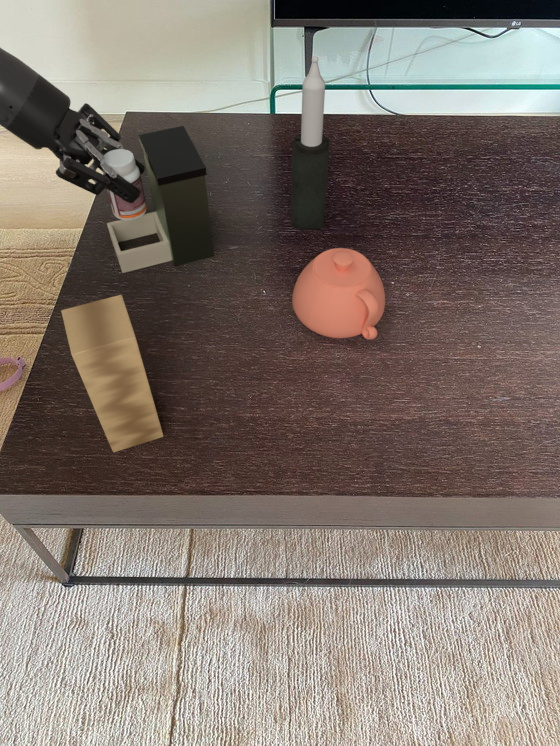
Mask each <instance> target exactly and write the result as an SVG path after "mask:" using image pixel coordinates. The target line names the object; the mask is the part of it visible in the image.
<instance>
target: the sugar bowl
mask: <svg viewBox="0 0 560 746" xmlns="http://www.w3.org/2000/svg"><path fill="white" fill-rule="evenodd" d="M291 300H292V301H291V302H292V303H291V304H292V309H293V311H294V313H295V315H296V317H297V318H298V320H299V321H300V322H301V324H303V325H304V326H305V327H306V328H307V329H309V330H310V331H312V332H313V333H316V334H318V335H320V336H323V337H327V338H331V339H349V338H353V337H357V336H359V335H362V337H364V339H366V340H374V339H376V338H377V336H378V330H377V328H376V327H375V326H376V325H377V324H378V322H379V321H380V320H381V319H382V317H383V316H384V312H385V308H386V307H385V306H386V293H385V287H384V283H383V281H382V279H381V276H380V275H379V273H378V271H377V270H376V268H375V267H374V265H373V264H372V263H371V262H370V260H369V259H368V258H367V257H366V256H365V255H364V254H362V253H361V252H359V251H357V250H354V249H351V248H347V247H346V248H344V247H335V248H331V249H327V250H325V251H323V252H321V253H319V254H318V255H317V256H315V257H314V258H313V259H311V261H310V262H308V264H307V265H306V266H305V267H304V268H303V270H301V272H300V274H299V275H298V277H297V279H296V282H295V284H294V287H293V291H292V299H291Z"/></svg>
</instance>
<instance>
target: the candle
mask: <svg viewBox="0 0 560 746" xmlns="http://www.w3.org/2000/svg"><path fill="white" fill-rule="evenodd" d="M318 62H319V57H318V56H317V55H313V56H312V57H311V64H310V67H309V70H308V74H307V76H306V77H304V80H303V81H302V89H301V91H302V93H301V119H300V120H301V121H300V133H299V134H297V135H296V136H295V137H294V138H293V142H292V149H291V187H290V188H291V191H290V193H291V194H290V197H291V198H290V225H291V227H293V228H296V229H305V230H320V229H322V228H323V227H324V224H325V213H326V199H327V188H328V187H327V186H328V174H329V173H328V172H329V158H330V146H331V145H330V144H331V141H330V138H329V137H328V136H326V135H325V134H323V131H324V130H323V129H324V112H325V97H326V96H325V95H326V82H325V80H324V78H323V77H322V76H323V75H321V70H320V67H319V64H318Z"/></svg>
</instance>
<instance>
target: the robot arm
mask: <svg viewBox="0 0 560 746" xmlns="http://www.w3.org/2000/svg"><path fill="white" fill-rule="evenodd" d="M71 103H72V101H71V98H70V97H69V95H68V94H66V93H65V92H63V91H62V90H61V89H60V88H58V87H57V86H55V85H54V84H52V83H51V82H50V81H48V80H47V79H46V78H45V77H44V76H42V75H41V74H40V73H38V72H37V71H36V70H34V69H33V68H32V67H30V66H29V65H28V64H26V63H25V62H23V61H22V60H21V59H19V58H18V57H16V56H15V55H13V54H11V53H10V52H8V51H6V50H5V49H3V48H2V47H0V126H1V127H3V128H4V129H5V130H7V131H9V133H11V134H12V135H14V136H16V137H17V138H19V139H20V140H22V142H24V143H26V144H27V145H29V146H30V147H32V148H33V149H34V150H42V149H43V148H47V149H48V150H49V151H50V152H52V153H53V155H54V156H55V157H56V158H57V159H58V160H59V167H58V168H57V169H56V170H55V174H56V176H57V178H60V179H62V180H64V181H66V182H67V183H70V184H72V185H74V186H76V187H78V188H80V189H83V190H85V191H87V192H89V193H91V194H93V195H95V196H99V195H101V193H102V192H104V191H105V190H107V189H108V190H110V191H111V192H113V193H114V194H115V195H117V196H118V197H120V198H122V199H123V200H124V201H126V202H128V203H133V202H134V201H135V200H136V199H137V198H138V197H139V196H140V190H139V189H138V188H136V187H135V186H133V185H132V184H131V183H129V182H128V181H126V180H125V179H124V178H122V177H121V176H119V175H118V174H117V175H116V174H115V172H114V171H113V170H112V169H111V168H110V167H109V166H108V165H107V164H106V163H105V158H104V155H105V154H106V153H107V152H109V151H112V150H115V149H124V145H123V144H122V143H121V142H120V140H121V139H122V136H121V134H120V133H119V132H118V131H117V130H116V129H115V128H114V127H113V126H111V124H110V123H108V121H107V120H106V119H105V118H104V117H102V116H101V115H100V113H98V112H97V111H96V110H95V108H93V107H92V106H91V105H90V104H88V103H86V102H85V103H84V104H83V105H82V106H81V107H80V108H79V109H78V110H77V111H76V110H74V109H71V108H70V107H71ZM134 159H135V163H136V164H135V165H136V166H137V167H138V168H139V170H140V175H141V176H142V175H143V174H144V173H145V170H146V166H145V165H144V164H142V163H141V162H140V160H138V159H136V158H135V157H134ZM91 162H92V163H91ZM90 163H91V164H90ZM89 164H90V165H89ZM88 165H89V166H88ZM98 169H99V170H100V171H101V172H102V173H100V172H99V171H97V170H98ZM103 174H105V175H103ZM90 180H91V181H93V182H94V183H93V182H90Z"/></svg>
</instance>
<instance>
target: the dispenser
mask: <svg viewBox="0 0 560 746" xmlns="http://www.w3.org/2000/svg"><path fill="white" fill-rule="evenodd" d="M138 141H139V144H140V147H141V149H142V153H143V158H144V163H145V170H146V173H147V179H148V183H149V188H150V194H151V199H152V204H153V209H154V212H156V213H157V215H158V218H159V220H160V222H161V225H162V227H163V229H164V232H165V234H166V237H167V239H168V241H169V246H170V251H171V257H172V263H173V266H174V267H177V266H180V265H181V266H182V265H185V264H189V263H192V262H196V261H201V260H205V259H208V258H212V257H214V256H215V254H214V253H215V252H214V243H213V236H212V225H211V218H210V209H209V199H208V190H207V179H206V176H207V175H208V173H207V167H206V165H205V163H204V161H203V159H202V158H201V157H202V156H201V155H200V154H199V152H198V150H197V148H196V146H195V144H194V142H193V140H192V139H191V136H190V135H189V133H188V131H187V129H186V127H185V125H179V126H175V127H171V128H165V129H160V130H156V131H150V132H147V133H141V134H138Z"/></svg>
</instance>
